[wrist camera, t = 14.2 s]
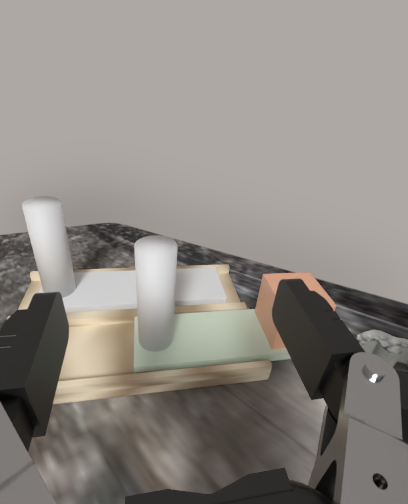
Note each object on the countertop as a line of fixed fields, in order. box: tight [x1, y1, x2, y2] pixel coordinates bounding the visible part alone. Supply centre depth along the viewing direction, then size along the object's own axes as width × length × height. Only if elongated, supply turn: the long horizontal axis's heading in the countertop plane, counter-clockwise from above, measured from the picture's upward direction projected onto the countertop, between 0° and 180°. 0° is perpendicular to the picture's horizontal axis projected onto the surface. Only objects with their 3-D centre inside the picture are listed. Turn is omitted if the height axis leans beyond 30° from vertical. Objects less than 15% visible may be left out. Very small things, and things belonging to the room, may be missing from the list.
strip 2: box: [134, 235, 291, 374], centre depth 27 cm, size 20×6×11 cm, turn 100°
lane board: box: [7, 265, 272, 404], centre depth 32 cm, size 24×16×2 cm, turn 100°
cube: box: [255, 272, 336, 349], centre depth 29 cm, size 5×5×5 cm
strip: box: [22, 197, 227, 313], centre depth 32 cm, size 20×6×11 cm, turn 100°
